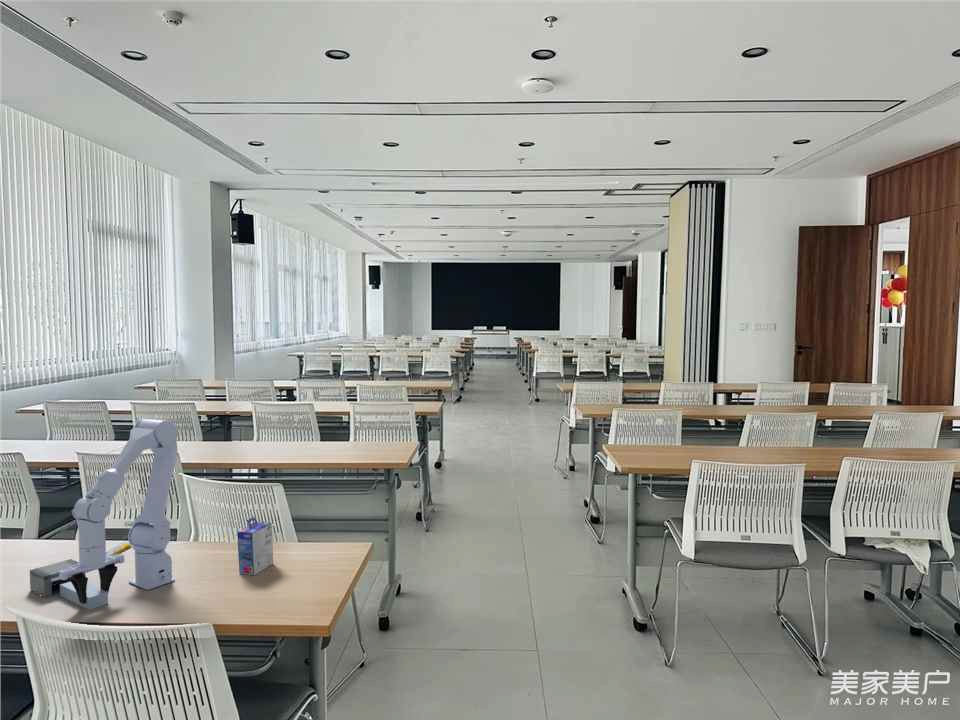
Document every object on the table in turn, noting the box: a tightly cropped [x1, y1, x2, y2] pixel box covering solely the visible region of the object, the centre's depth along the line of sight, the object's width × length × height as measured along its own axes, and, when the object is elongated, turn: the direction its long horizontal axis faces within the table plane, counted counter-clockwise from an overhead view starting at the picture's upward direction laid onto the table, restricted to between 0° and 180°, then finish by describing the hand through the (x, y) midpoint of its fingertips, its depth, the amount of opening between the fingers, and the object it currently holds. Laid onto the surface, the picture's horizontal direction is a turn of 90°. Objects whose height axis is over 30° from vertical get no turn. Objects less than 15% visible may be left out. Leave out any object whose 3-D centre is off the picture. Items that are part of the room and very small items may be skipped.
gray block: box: [29, 559, 86, 598], centre depth 172 cm, size 9×10×6 cm
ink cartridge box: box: [236, 516, 274, 576], centre depth 186 cm, size 10×6×14 cm, turn 165°
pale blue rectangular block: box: [59, 581, 109, 611], centre depth 165 cm, size 15×4×3 cm, turn 56°
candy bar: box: [106, 542, 133, 557], centre depth 198 cm, size 17×4×2 cm, turn 176°
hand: (93, 599), depth 162 cm, fingers closed on pale blue rectangular block, 4 cm apart
